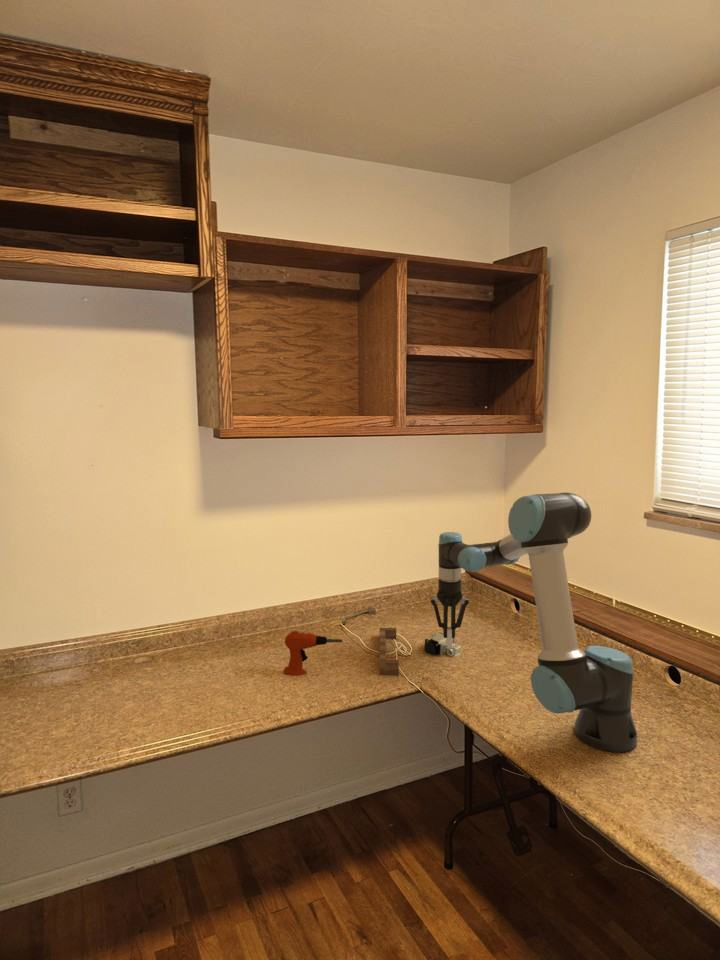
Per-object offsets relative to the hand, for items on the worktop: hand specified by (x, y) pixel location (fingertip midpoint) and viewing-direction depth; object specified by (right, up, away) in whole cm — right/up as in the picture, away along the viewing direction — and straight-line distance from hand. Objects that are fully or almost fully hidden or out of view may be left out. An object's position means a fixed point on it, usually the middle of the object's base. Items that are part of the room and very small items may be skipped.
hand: (448, 646), depth 201 cm
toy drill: (-45, -6, -13) cm, 47 cm away
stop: (-20, -4, +1) cm, 21 cm away
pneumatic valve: (+4, -2, +1) cm, 4 cm away
